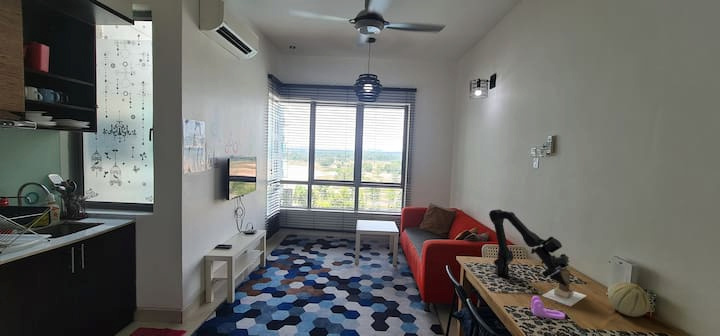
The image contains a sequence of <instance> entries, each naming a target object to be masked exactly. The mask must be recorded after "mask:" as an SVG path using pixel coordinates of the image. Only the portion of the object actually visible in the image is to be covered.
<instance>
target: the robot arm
mask: <svg viewBox="0 0 720 336" xmlns="http://www.w3.org/2000/svg"><path fill="white" fill-rule="evenodd" d="M488 215H489V219H490V221H491V223H492V224H493V226H494V229H495V230H494V231H495V235H496V239H497V245H498V252H497V258H496V259H494V260H493V264H494V265H495V268H494V269H495V271H493V273H494V274H495V275H496V276H497V277H499V278H500V277H505V278H506V277H510V275H509V274H510V268H509V265H510V264H511V263H512V262H513V261H514V258H515V257H514V253H513V250H510V249H509V247H508V243H507V238H506V232H505V229H504V228H505V227H504V222H505V221H504V220H508V221H509V223H510V224H511V226H513V227H514V228H515V230H517V232H519V234H520V235H521V237H522V239H523V242H524V243H525V244H526V246H528V247H529V248H531V255H533V254H536V255H537V257H538V258H539V259H540V261H541V262H540V263H541V264H542V265H543V264H544V265H545V267H546V269H545V270H544V271H543V272H542V276H543V277H544V278H545V279H546V278H547V277H548V278H549V279H552V280H553V281H555V282H557V283H558V284H559V283H561V284H562V285H564V286H567V284H566V283H565V281H564V280H563V278H562V277H561V275H560V269H567V270H568V266H569V265H570V264H569V263H570V260H569V259H570V258H569V256H568V255H566V253H562V254H560V256H557V257H556V256H555V255H554V254H553V253H555V252H556V251H558V250H560V249H561V248H563V245H562V243H561V242H560V241H559V240H558V239H557V238H555V237H553V236H550V237H548V238H547V239H543V238H541V237H540V236H539V235H537V234H536V233H534V232H533V231H531V230H530V229H528V227H527V226H526V225H525V224H524V223H523V221H521V220H520V219H519V218H518V217H517V215H515V213H514V212H513V211H506V210H502V209H499V208H498V209H492V210H490V211H489V213H488ZM535 247H536V248H535ZM552 254H553V255H552ZM571 283H572V282H571V280H570V281H569V285H570V284H571Z"/></svg>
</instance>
